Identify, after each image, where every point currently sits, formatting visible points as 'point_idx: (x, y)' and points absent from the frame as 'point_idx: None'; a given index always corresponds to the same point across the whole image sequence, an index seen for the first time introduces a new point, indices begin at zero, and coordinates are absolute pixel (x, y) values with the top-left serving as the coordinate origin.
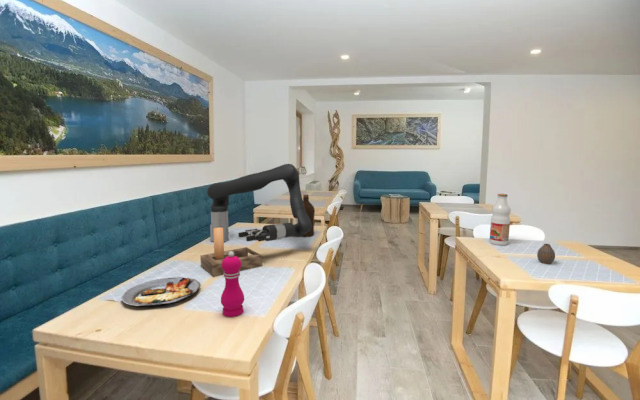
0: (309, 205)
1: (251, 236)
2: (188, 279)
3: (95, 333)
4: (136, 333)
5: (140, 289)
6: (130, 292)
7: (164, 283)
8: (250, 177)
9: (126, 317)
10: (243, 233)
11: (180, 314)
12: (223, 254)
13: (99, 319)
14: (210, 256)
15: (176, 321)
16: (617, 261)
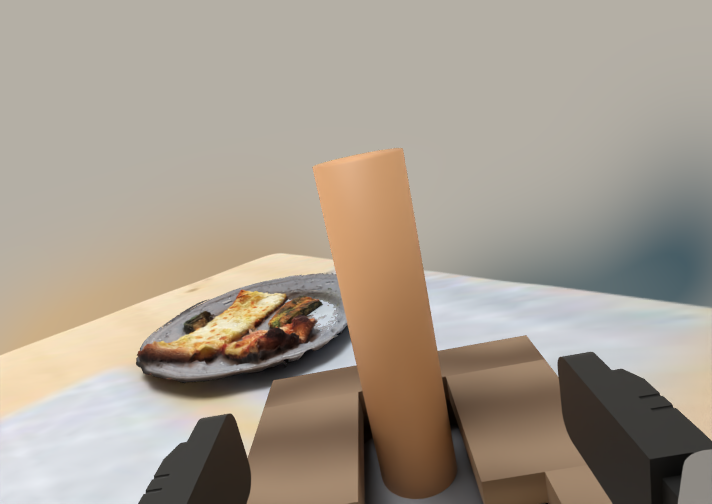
0: None
1: (171, 483)
2: (256, 344)
3: (184, 290)
4: (112, 323)
5: (332, 291)
6: (320, 281)
7: (345, 320)
8: None
9: (200, 304)
10: (602, 428)
11: (90, 365)
12: (373, 406)
13: (237, 283)
14: (470, 372)
15: (68, 361)
16: None
